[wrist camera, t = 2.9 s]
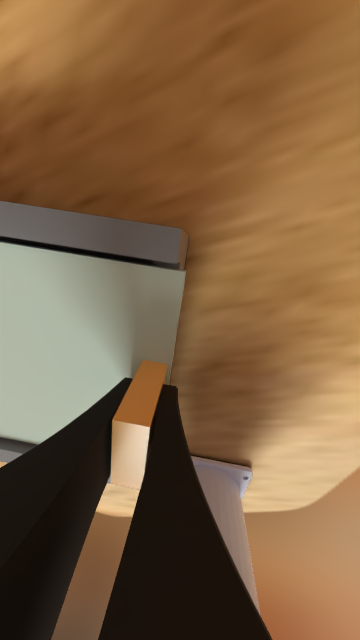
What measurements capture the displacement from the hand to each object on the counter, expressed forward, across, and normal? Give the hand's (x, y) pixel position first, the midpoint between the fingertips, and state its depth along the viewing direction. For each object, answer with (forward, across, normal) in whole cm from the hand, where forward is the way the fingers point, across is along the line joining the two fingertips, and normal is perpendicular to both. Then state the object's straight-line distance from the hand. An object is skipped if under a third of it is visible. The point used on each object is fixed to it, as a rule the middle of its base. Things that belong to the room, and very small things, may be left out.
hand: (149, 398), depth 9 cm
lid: (+1, +8, 0) cm, 8 cm away
